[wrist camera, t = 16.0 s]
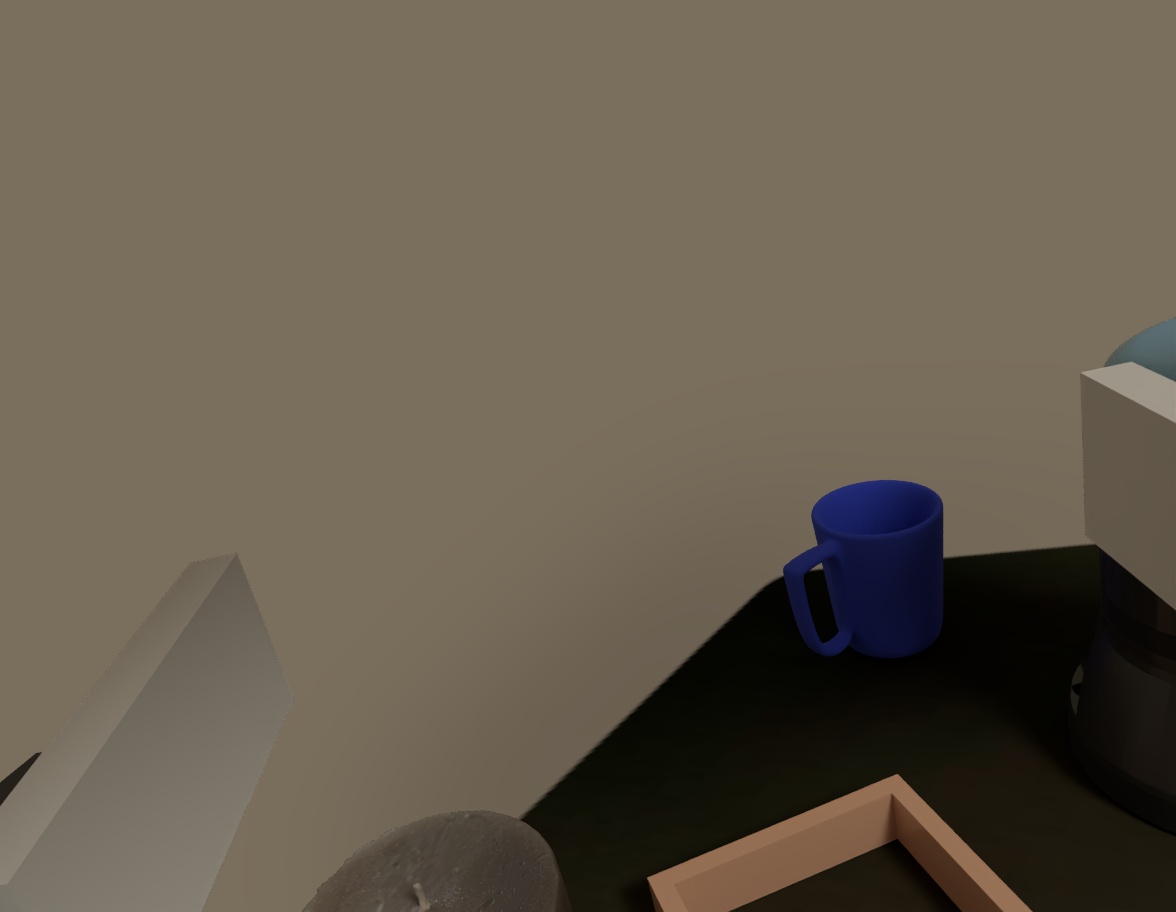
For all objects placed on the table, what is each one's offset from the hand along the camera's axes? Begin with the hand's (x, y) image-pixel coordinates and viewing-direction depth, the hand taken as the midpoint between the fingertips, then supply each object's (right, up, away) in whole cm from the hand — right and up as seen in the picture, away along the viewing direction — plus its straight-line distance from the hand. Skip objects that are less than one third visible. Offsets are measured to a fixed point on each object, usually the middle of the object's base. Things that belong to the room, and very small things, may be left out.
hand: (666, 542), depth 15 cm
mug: (+18, -12, +50) cm, 54 cm away
